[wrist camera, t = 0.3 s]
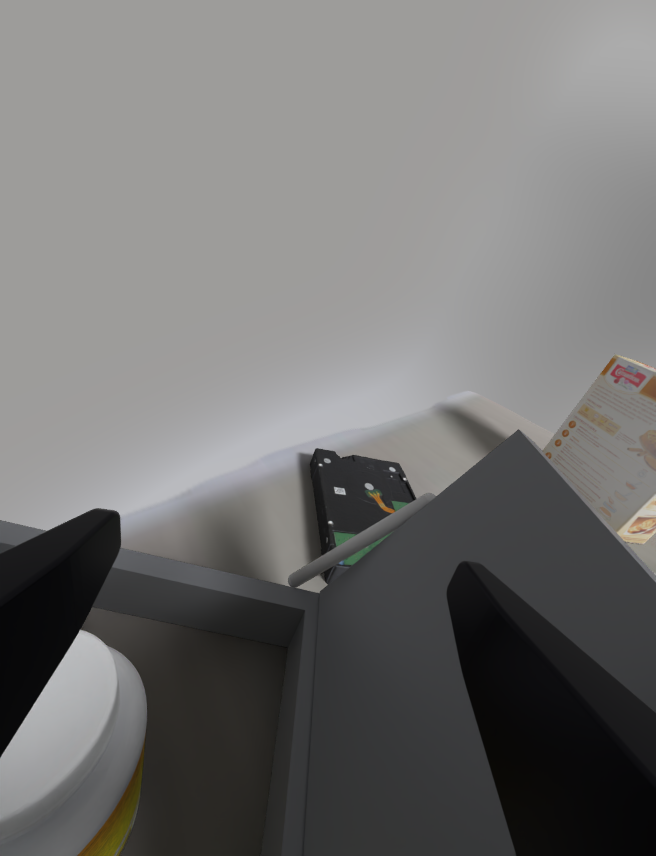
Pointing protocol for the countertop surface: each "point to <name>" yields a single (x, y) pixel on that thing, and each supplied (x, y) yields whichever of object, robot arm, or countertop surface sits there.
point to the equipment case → (407, 652)
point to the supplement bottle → (76, 759)
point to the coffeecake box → (614, 448)
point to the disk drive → (354, 499)
